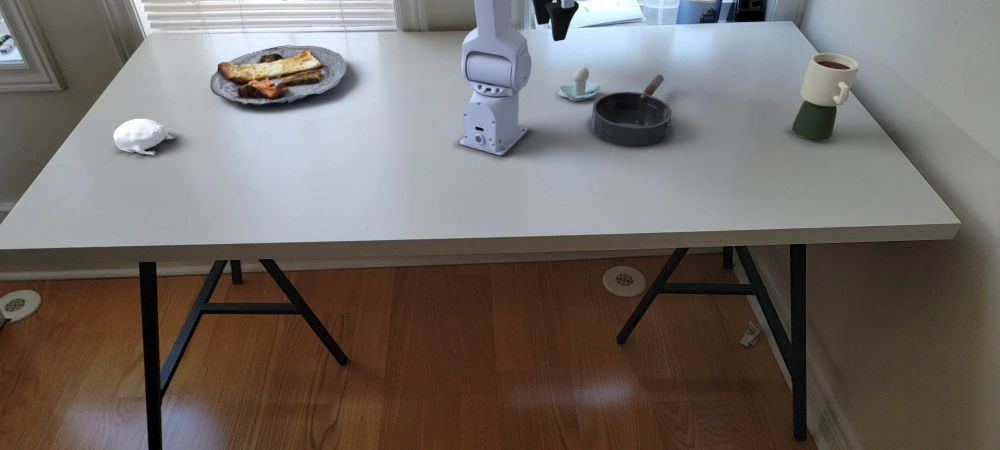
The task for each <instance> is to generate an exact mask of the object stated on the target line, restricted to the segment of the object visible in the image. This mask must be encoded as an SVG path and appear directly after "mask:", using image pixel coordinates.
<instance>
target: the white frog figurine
mask: <svg viewBox="0 0 1000 450" xmlns="http://www.w3.org/2000/svg"><path fill="white" fill-rule="evenodd" d="M173 139H176V137H175V136H172V135H170V134H168V132H167V129H166V127H165V126H164V125H163V124H162V123H159V122H158V121H155V120H152V119H148V118H134V119H130V120H127V121H125V122H123V124H120V125H119V126H118V127H117V128H116V129H115V130H114V132H113V141H114V142H115V146H116V147H117V148H119V149H120V150H121V151H123V152H128V153H132V154H133V153H138V154H141V155H152V156H155V154H157V152H156V151H155V150H152V151H151V150H148V151H146V150H147V149H150V148H153V147H155V146H157V145H159V144H161V142H163V141H165V140H167V141H169V140H173Z"/></svg>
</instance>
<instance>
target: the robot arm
mask: <svg viewBox="0 0 1000 450" xmlns="http://www.w3.org/2000/svg"><path fill="white" fill-rule="evenodd" d="M473 1H474V9H475V10H474V11H475V19H476V27H475V28H473V29H472V30H470V32H468V33H467V35H466V36H465V37H464V40H463V42H462V45H461V50H462V51H461V54H462V55H461V62H460V68H461V73H462V76H463V78H464V79H465V81H467V82H469V89H473V91H472V95H471V98H470V100H469V101H468V103H466V105H465V106H464V109H463V137H462V138H461V139H460V140H459V144H460V145H462V146H466V147H468V148H471V149H476V150H479V151H483V152H486V153H489V154H493V155H497V156H501V157H502V156H503V155H505V154H506V153H507V152H508V151H509V150H510V149H511V148H512V147H513V146H514V145H515V144H516V143H517V142H518V141H519V140H520V139H522V137H523V136H524V135H526V133H527V132H529V131H528V129H529V128H527V127H525V126H521V125H519V113H520V112H519V110H520V109H519V106H520V105H519V104H520V91H522V90H523V89H524V88H525V87H526V86H527V84H528V82H529V79H530V77H531V73H532V57H531V55H530V52H529V47H528V40H527V39H526V37H525V36H524V35H523V34H521V32H520V31H518V30H517V29H516V28H515V27H514V26H513V25H512V17H511V15H512V14H511V3H510V0H473ZM531 2H532V5H533V9H534V14H535V19H536V24H537V25H538V26H542V25H547V24H551V25H550V26H551V35H552V36H551V37H552V40H553V41H554V42H561V41H565V40H566V37H567V35H568V31H569V28H570V25H571V22H572V20H573V18H574V17H575V14H576V13H577V11H578V10H579V8H580V3H578V2H577V1H576V0H556V1H554V0H531Z"/></svg>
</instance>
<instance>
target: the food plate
mask: <svg viewBox="0 0 1000 450" xmlns="http://www.w3.org/2000/svg"><path fill="white" fill-rule="evenodd" d="M347 66H348V65H347V62H346V61H345V59H344V57H343V56H342V55H341V53H340V52H336V51H334V50H332V49H331V48H327V47H324V46H323V47H322V46H316V45H292V44H287V45H286V44H285V45H279V46H274V47H269V48H264V49H261V50H257V51H253V52H250V53H246V54H242V55H240V56H238V57H235V58H234V59H231V60H230V61H229V62H228V61H221V62H220V63H217V70H216V72H215V73H214V74H213V75H212V76H211V79H210V84H209V87H210V90H211V92H212V93H213V94H214V95H216V96H218V97H220V98H222V99H225V100H226V101H227V102H232V103H237V104H238V106H240V104H241V105H244V106H245V105H248V104H252V105H253V106H259V105H263V104H268V105H269V104H271V103H272V104H274V103H275V104H284V103H286V102H287V104H290V103H292V102H294V101H296V100H299V99H304V98H306V97H307V96H310V95H311V96H312V95H313V94H314V95H320V94H323V93H325V92H327V91H329V90H331V89H333V88H335V87H336V86H337V85H339V83H340V82H341V81H342V78H343V77H344V75H345V74H346V73H347V68H348V67H347Z"/></svg>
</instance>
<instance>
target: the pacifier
mask: <svg viewBox="0 0 1000 450" xmlns="http://www.w3.org/2000/svg"><path fill="white" fill-rule="evenodd" d="M589 78H590V71H589V69H588V68H587V67H579V68H577V69H576V70H575V71H574V72H573V74H572V80H573V82H574V85H562V86H560V87H559V89H560V90H559V91H558V95H559V96H560V97H563V98H567V99H569V100H570V101H573V102H583V101H586V100H587V99H591V98H593V97H595V96H596V95H597V94H598V93H599V92H600V88H601V86H600V84H599V83H597V82H587V81H588V79H589Z"/></svg>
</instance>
